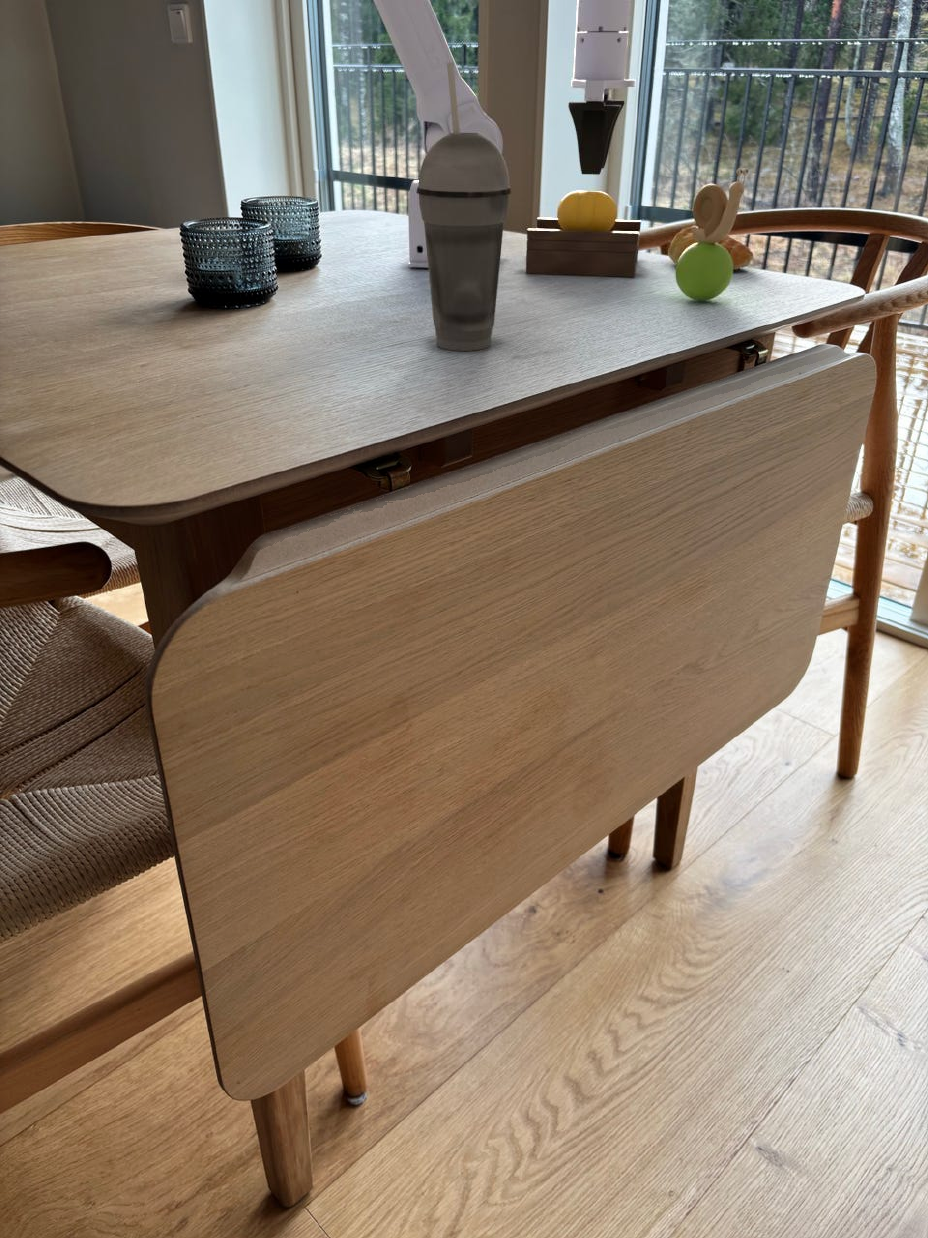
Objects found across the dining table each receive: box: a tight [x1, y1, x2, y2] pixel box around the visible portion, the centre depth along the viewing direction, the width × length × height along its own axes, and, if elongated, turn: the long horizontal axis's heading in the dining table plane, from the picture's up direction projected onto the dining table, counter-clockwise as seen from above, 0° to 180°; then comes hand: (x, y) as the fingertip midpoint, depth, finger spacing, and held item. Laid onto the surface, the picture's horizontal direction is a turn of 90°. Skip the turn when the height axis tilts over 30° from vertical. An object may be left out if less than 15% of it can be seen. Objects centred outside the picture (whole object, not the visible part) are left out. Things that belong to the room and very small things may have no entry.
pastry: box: [667, 226, 754, 270], centre depth 108 cm, size 9×7×4 cm
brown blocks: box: [525, 217, 642, 278], centre depth 107 cm, size 12×10×4 cm
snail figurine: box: [674, 167, 749, 302], centre depth 89 cm, size 5×6×12 cm
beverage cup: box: [416, 62, 512, 352], centre depth 73 cm, size 7×7×20 cm
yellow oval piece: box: [556, 190, 618, 231], centre depth 104 cm, size 7×5×5 cm
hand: (593, 171), depth 109 cm, fingers open, 7 cm apart
